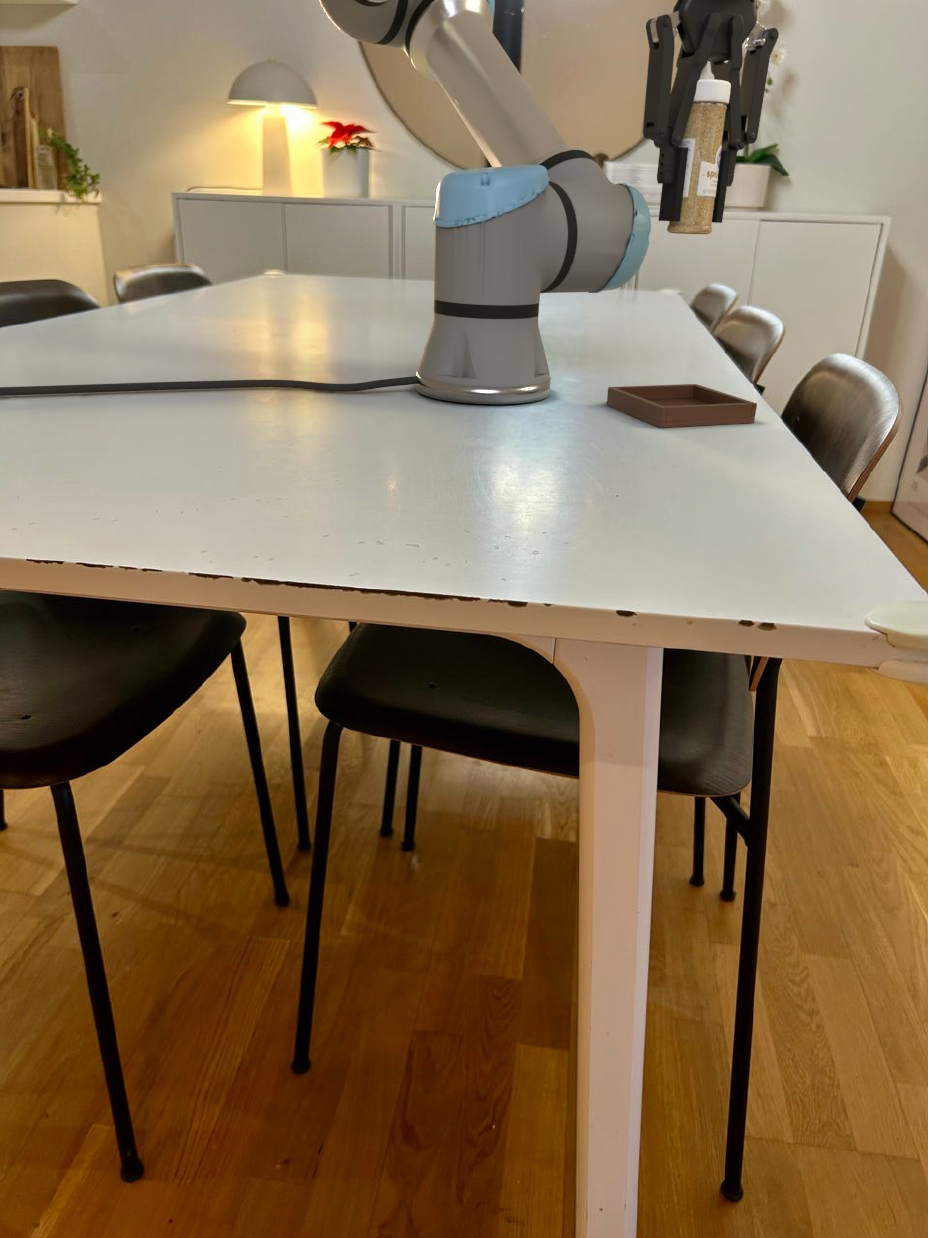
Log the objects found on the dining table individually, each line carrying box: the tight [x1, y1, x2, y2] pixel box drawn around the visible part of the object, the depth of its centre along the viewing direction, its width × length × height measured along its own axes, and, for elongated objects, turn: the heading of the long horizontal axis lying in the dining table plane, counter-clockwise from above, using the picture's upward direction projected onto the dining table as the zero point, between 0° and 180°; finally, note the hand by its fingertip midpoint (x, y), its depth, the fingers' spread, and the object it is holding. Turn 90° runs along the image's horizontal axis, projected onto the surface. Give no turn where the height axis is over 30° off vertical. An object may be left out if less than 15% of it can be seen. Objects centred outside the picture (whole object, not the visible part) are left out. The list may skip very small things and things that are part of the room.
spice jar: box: [666, 78, 731, 235], centre depth 89 cm, size 5×5×13 cm
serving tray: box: [606, 383, 758, 429], centre depth 96 cm, size 11×11×2 cm
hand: (690, 221), depth 91 cm, fingers closed on spice jar, 4 cm apart
